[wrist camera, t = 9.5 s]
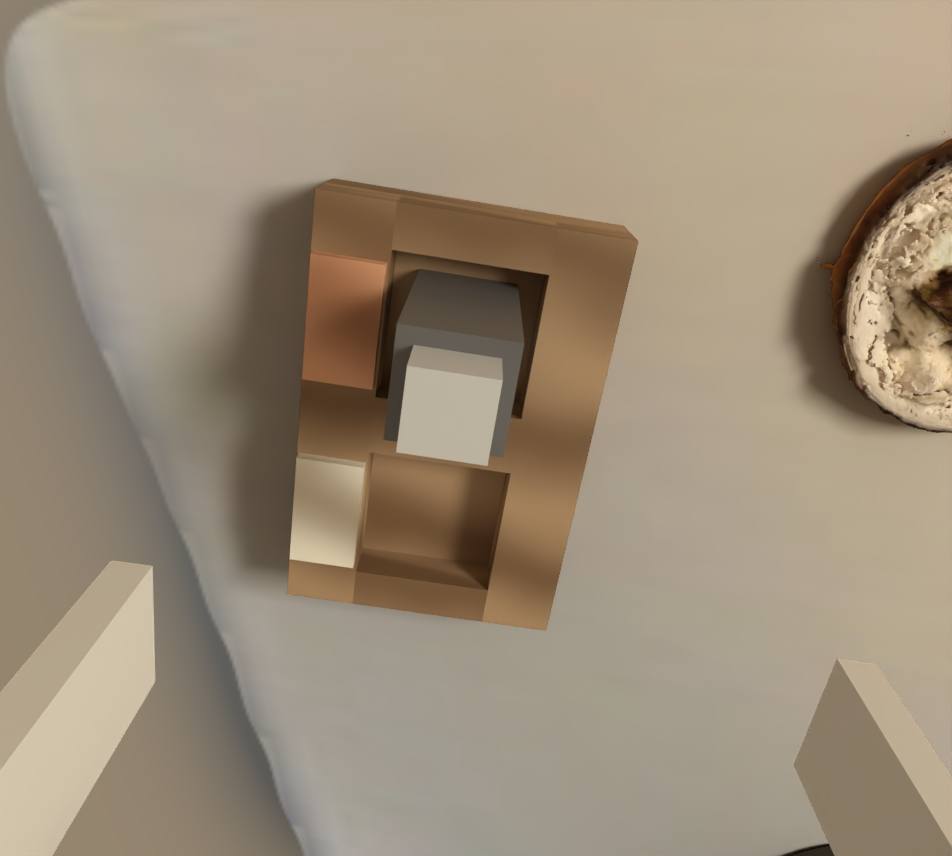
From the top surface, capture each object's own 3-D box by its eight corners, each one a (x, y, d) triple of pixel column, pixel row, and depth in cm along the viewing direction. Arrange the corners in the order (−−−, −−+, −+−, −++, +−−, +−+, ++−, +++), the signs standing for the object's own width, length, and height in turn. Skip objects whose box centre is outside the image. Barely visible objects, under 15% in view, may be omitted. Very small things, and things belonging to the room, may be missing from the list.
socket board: (541, 586, 39) (546, 637, 35) (304, 551, 39) (284, 600, 35) (623, 226, 32) (640, 243, 28) (333, 178, 31) (312, 190, 28)
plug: (501, 375, 33) (503, 486, 24) (408, 361, 33) (374, 466, 24) (517, 284, 31) (526, 364, 22) (419, 268, 31) (388, 343, 22)
